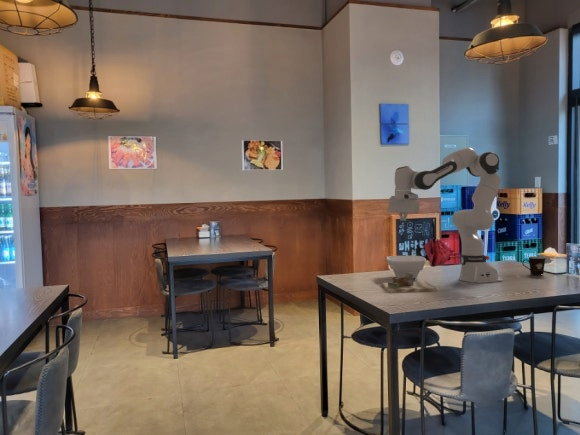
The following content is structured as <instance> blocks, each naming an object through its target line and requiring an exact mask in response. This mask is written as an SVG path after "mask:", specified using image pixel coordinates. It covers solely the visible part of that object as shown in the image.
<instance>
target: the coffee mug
mask: <svg viewBox="0 0 580 435" xmlns="http://www.w3.org/2000/svg"><path fill="white" fill-rule="evenodd" d="M526 261H527V262H528V263H529V267H528V266H526V265H525V264H524V262H526ZM545 262H546V257H545V256H528V259H524V260H522V266H523V267H525V268H526V269H527V270H529V271H530V275H531V274H534V275H533V276H538V275H540V276H542V275H541V274H543V275H544V270H545Z"/></svg>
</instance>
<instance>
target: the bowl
mask: <svg viewBox="0 0 580 435" xmlns="http://www.w3.org/2000/svg"><path fill="white" fill-rule="evenodd" d="M386 262H387V264H388V267H389V269H390V270H392V271H393V273H394V276H395V278H399V277H405V273H407V272H411V273H413V279H417V278H418V276H419V274H420V272H421V271H423V270H424V269H423V268H424V266H425V264H426V263H427V258H425V257H424V256H420V255H389V256H386Z"/></svg>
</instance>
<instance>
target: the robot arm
mask: <svg viewBox="0 0 580 435" xmlns="http://www.w3.org/2000/svg"><path fill="white" fill-rule="evenodd" d="M499 158H500V157H499V155H498V154H497V153H496V152H493V151H486V152H484V153H481V154H479V155H478V153H476V150H475V149H473V148H471V147H464V148H461V149H457V150H455V151H453V152H451V153H449V154H447V155H446V156H445V157H444V158H443V159H442V160H441V165H439V166H437V167H436V168H434V169H432V170H424V171H417V170H414V169H413V168H411V167H410V166H409V165H405V166H401V167H398V168H397V167H396V169H395V172H394V184H395V186H394V187H395V188H394V195H391V196H390V197H389V201H388V212H389V213H398V217H399V220H400V221H405V222H406V221H407V217H408V215H409V213H412V214H413V213H415V214H417V213H419V211H420V204H419V194H417V193H414V192H412V189H413V190H423V191H426V190H429V189H432V188H433V187H434V186H435V184H436V183H437V182H438V181H440V180H441V179H443V178H445V177H447V176H448V175H452V174H455V173H457V172H461V171H463V170H465V169H466V170H467V172H468V173H469V174H470V176H472V177H474V178H477V177H478V178H479V177H480V179H479V182H478V184H477V186H476V188H475V190H474V192H473V194H472V195H471V201H472V203H473V208H472V209H462V210H461V209H460V210H457V211H456V212H454V213H453V215H452V217H451V222H452V225H453V226H454V227H455V228H456V229H457V231H458V234H459V236H460V241H461V255H460V265H461V267H460V274H459V277H458V279H459V280H460V281H462V282H469V283H476V284H477V283H478V284H480V283H482V284H483V283H494V282H495V283H496V282H503V278H502V277H500V276H499V272H498V269H497V268H496V267H495V266H493V265H492V264H490V262H487V261H489V260H491V259H490V258H491V257H490V255H485V254H484V241H483V239H482V238H481V237H480V236H479V235H478V232H477V231H487V230H490V229H492V227H493V226H494V223H495V217H494V216H493V214H492V205H493V202H494V201H495V199H496V196H497V195H498V194H497V193H498V192H499V190H500V187H501V183H502V176H501V175H500V174H499V173H498V172H499V169H500V159H499Z"/></svg>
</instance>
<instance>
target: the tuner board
mask: <svg viewBox="0 0 580 435" xmlns="http://www.w3.org/2000/svg"><path fill="white" fill-rule="evenodd" d="M380 285H381V287H383V289H384V290H386V291H387V292H388V293H390V294H391V293H393V294H394V293H420V292H421V293H423V292H426V293H427V292H429V293H430V292H437V291H438V288H437V287H436V286H433V285H432V284H430V283H429V282H427V281H413V285H404V286H399V284H398V283H393V281H388V282H381V284H380Z"/></svg>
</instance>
